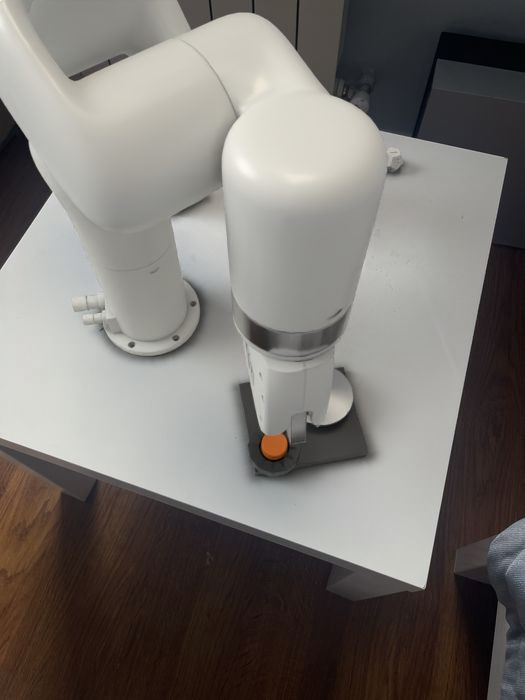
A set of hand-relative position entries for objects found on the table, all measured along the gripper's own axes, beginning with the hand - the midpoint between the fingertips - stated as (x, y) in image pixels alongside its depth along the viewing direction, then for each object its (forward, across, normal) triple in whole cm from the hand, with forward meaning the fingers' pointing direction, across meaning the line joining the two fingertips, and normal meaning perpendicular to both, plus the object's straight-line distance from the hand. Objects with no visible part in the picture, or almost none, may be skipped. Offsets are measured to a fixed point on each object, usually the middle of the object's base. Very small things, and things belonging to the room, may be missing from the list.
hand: (281, 412), depth 49 cm
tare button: (+11, -1, 0) cm, 11 cm away
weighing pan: (+11, -6, +6) cm, 14 cm away
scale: (+14, -4, +4) cm, 15 cm away
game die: (+13, -43, +27) cm, 52 cm away
